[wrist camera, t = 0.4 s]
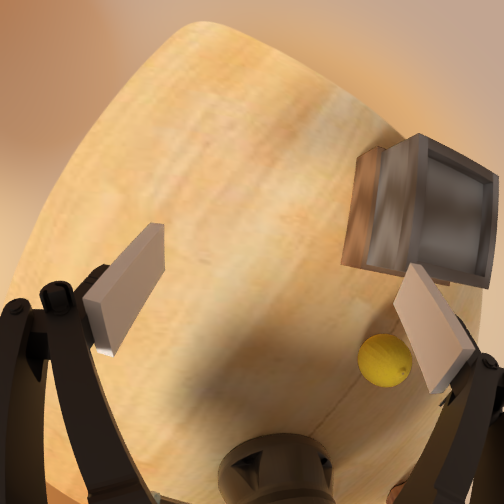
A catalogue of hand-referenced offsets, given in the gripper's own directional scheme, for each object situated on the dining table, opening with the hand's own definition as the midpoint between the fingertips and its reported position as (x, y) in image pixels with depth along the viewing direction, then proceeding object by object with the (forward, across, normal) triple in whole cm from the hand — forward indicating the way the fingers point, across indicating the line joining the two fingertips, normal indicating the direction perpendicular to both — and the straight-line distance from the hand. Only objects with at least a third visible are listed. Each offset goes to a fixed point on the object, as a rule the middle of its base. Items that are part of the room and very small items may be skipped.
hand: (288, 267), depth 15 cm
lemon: (+11, -13, +16) cm, 23 cm away
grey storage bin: (+18, -14, +2) cm, 22 cm away
